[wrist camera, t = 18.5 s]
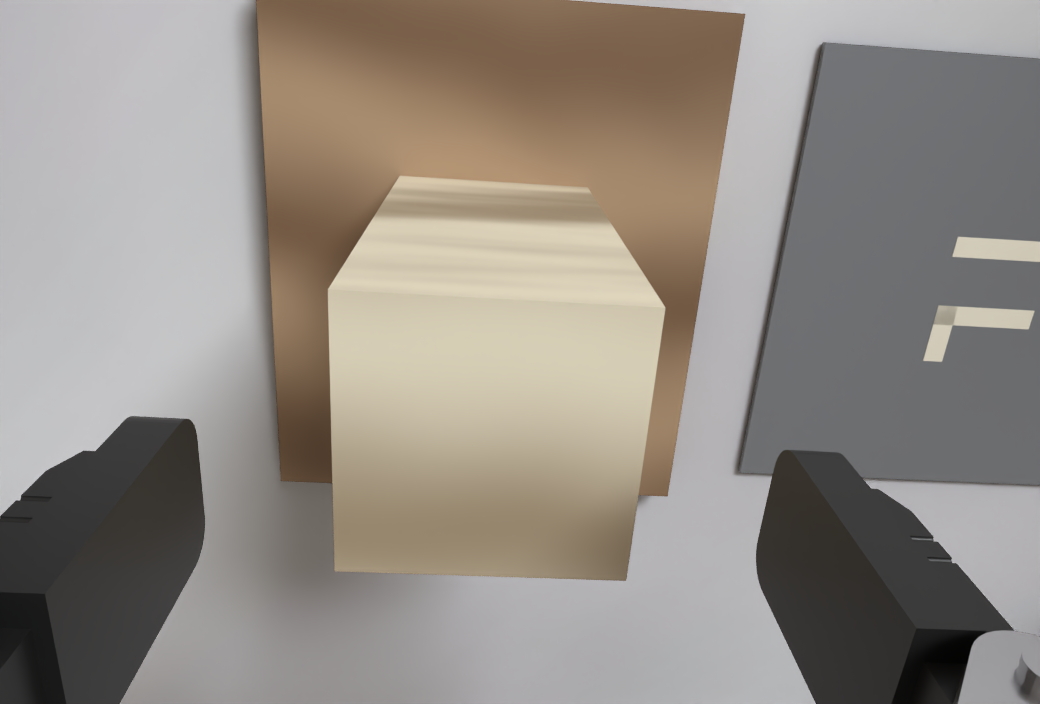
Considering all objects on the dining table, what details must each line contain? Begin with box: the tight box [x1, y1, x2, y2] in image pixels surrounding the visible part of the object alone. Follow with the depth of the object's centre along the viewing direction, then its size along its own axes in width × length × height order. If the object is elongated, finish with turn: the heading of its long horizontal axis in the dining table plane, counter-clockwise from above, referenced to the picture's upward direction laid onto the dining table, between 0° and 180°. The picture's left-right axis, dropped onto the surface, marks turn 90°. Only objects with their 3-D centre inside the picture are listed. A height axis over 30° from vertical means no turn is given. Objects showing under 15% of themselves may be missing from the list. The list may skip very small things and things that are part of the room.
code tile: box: [739, 43, 1040, 485], centre depth 24 cm, size 13×13×1 cm
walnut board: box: [256, 0, 745, 496], centre depth 22 cm, size 14×12×1 cm
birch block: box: [328, 176, 665, 581], centre depth 17 cm, size 5×5×10 cm
